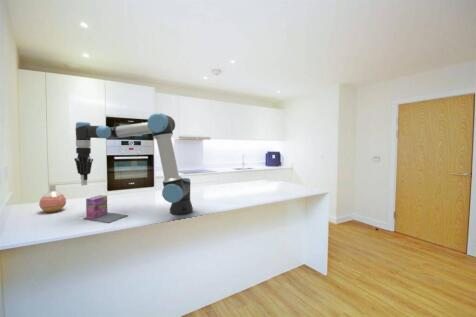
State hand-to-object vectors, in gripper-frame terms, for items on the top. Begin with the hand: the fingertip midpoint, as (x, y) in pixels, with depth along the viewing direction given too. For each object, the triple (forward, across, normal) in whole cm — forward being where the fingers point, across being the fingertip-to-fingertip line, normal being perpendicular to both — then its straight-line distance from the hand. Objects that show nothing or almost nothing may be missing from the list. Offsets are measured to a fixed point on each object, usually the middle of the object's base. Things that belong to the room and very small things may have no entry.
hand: (84, 185), depth 141 cm
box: (+19, -10, 0) cm, 21 cm away
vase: (+20, +27, +1) cm, 33 cm away
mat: (+19, -16, -1) cm, 25 cm away
